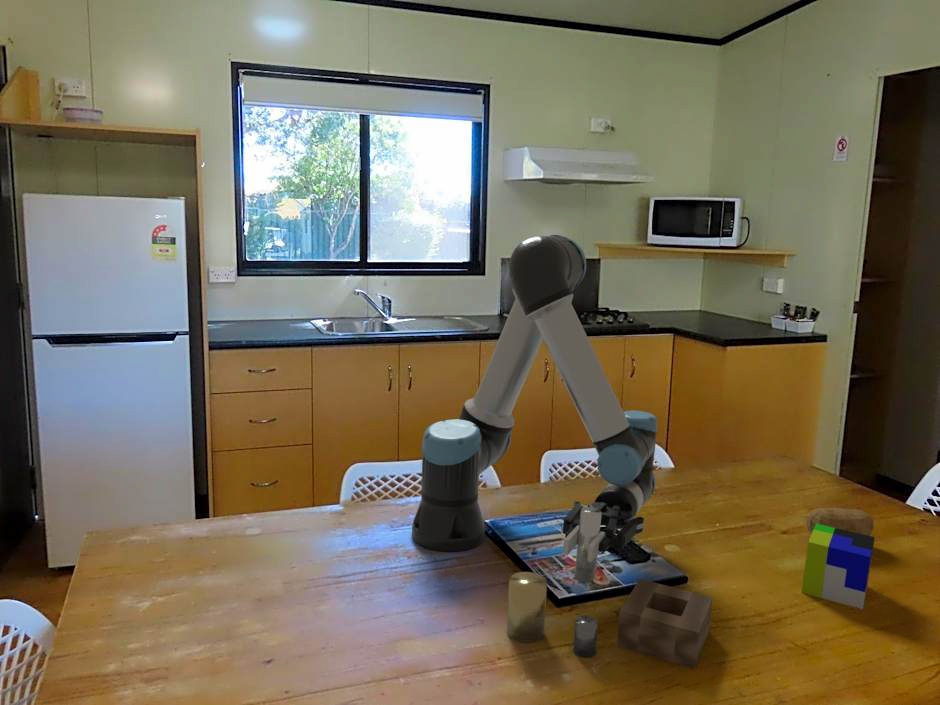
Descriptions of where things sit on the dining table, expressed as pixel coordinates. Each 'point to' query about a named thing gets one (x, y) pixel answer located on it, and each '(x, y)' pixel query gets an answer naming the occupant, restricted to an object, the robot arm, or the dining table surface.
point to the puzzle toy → (838, 565)
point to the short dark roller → (585, 636)
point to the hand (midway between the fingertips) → (578, 550)
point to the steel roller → (587, 543)
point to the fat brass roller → (526, 607)
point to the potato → (841, 520)
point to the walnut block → (665, 623)
